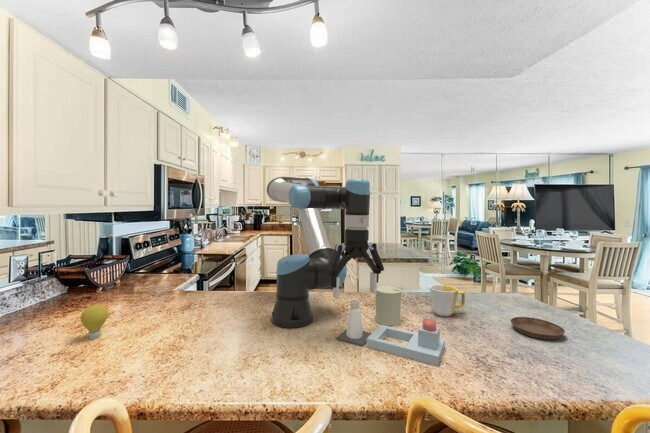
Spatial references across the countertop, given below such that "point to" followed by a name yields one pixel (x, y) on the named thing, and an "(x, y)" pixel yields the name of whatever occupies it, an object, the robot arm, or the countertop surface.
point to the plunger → (429, 325)
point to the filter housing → (409, 343)
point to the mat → (359, 341)
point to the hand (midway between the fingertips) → (355, 295)
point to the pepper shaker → (354, 321)
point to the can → (388, 305)
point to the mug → (445, 299)
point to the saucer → (537, 328)
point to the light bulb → (94, 320)
